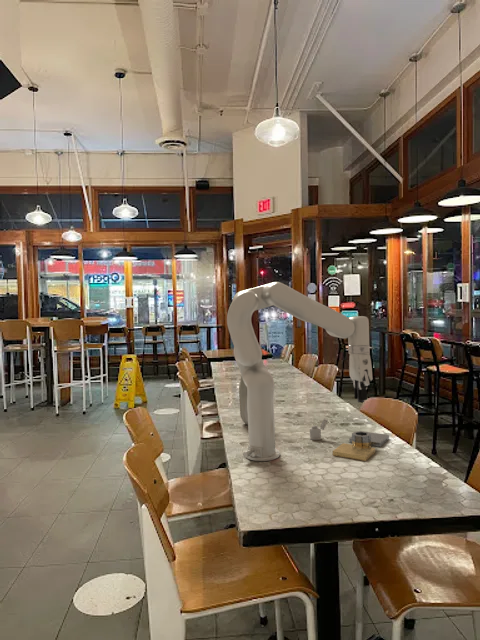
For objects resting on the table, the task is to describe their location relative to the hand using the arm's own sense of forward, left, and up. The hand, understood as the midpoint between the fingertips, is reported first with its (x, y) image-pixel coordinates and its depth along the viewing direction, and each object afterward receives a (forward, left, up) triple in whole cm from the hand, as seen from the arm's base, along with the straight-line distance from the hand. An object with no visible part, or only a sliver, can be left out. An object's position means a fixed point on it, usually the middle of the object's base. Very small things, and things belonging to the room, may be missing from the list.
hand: (360, 398), depth 165 cm
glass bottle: (+8, +54, -18) cm, 58 cm away
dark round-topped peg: (0, 0, -1) cm, 1 cm away
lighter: (+2, +18, -18) cm, 26 cm away
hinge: (0, 0, -18) cm, 18 cm away
